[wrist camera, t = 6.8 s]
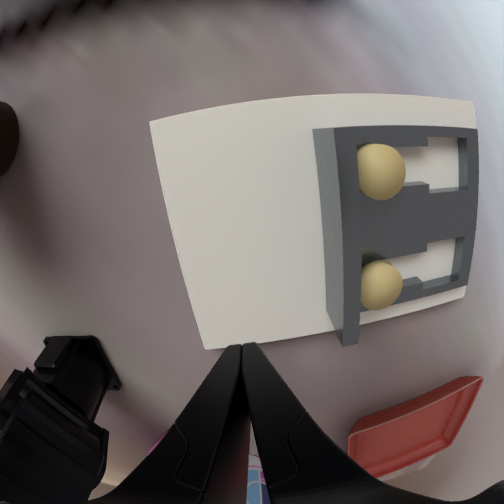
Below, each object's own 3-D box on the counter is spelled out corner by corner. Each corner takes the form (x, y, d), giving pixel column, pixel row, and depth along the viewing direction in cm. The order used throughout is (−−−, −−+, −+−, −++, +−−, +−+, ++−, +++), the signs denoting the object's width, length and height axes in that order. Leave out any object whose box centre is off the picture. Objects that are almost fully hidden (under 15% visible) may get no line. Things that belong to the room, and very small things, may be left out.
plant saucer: (473, 359, 27) (486, 376, 24) (444, 432, 34) (451, 446, 31) (340, 412, 28) (347, 435, 25) (342, 471, 35) (346, 487, 32)
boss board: (454, 288, 22) (480, 312, 18) (206, 337, 23) (201, 374, 19) (461, 102, 16) (497, 102, 12) (156, 122, 16) (134, 120, 13)
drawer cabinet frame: (460, 279, 20) (488, 303, 16) (326, 310, 20) (342, 346, 16) (468, 128, 15) (506, 132, 12) (312, 129, 16) (333, 127, 12)
